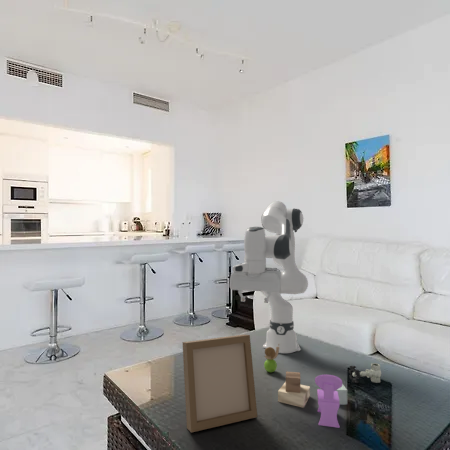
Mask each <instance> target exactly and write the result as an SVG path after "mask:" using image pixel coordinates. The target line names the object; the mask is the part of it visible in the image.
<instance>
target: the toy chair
mask: <svg viewBox="0 0 450 450" xmlns="http://www.w3.org/2000/svg"><path fill="white" fill-rule="evenodd" d="M314 381H315V382H314V384H315V385H316V386H317V387H319V388H317V391H316V392H317V393H316V394H317V404H318V408H317V412H318V413H320V419H319V421H318V426H324V427H331V428H338V429H339V428H340V424H339V420H338V412H339V409H340V406H341V404H339V396H338V391H335V390H337V389H339V388H341V387H342V384H343V380H342V378H341V377H339V376H337V375H333V374H326V373H325V374H319V375H317V376H316V377H315V378H314Z"/></svg>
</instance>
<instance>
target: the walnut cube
mask: <svg viewBox="0 0 450 450" xmlns="http://www.w3.org/2000/svg"><path fill="white" fill-rule="evenodd" d="M285 382H286V392H295V393H300V384H301V372H296V371H285Z"/></svg>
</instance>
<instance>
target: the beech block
mask: <svg viewBox="0 0 450 450" xmlns="http://www.w3.org/2000/svg"><path fill="white" fill-rule="evenodd" d="M310 397H311V386H309V385H304V384H301V383H300V393H295V392H286V381H285V382H284V383H283V384H282V386H281V387H280V388H279V389H278V390H277V402H279V403H282V404H287V405H291V406H294V407H295V406H296V407H299V408H303V409H304V408H305V407H306V405H307V402H308V400H309V399H310Z"/></svg>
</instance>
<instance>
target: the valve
mask: <svg viewBox="0 0 450 450" xmlns="http://www.w3.org/2000/svg"><path fill="white" fill-rule="evenodd" d="M356 368H357V366H355V365H349V369H350V370H349V369H348V374H350V375H349V379H350V380H351V381H352V383H353V384H359V382H360V381H359V379H360V378H361V377H367V378H370V381H371V382H372V383H375V384H378V383H381V377H382V370H381V364H379V363H375V362H371V363H370V369H369V368H368V369H365V371H364V370H363V371H359V370H358V369H356Z"/></svg>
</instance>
